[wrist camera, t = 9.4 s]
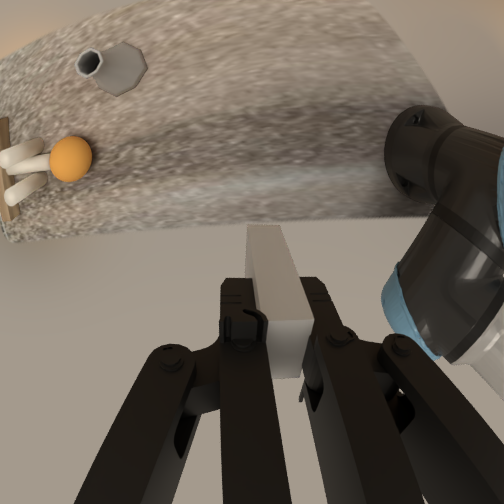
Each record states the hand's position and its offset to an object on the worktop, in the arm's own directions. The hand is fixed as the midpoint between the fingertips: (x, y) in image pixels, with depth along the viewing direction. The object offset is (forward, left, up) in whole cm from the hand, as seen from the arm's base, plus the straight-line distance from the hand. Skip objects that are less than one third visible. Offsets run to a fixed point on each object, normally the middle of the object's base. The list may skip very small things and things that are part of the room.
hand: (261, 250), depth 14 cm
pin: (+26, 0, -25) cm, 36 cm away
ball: (+22, -1, -23) cm, 32 cm away
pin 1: (+29, -3, -26) cm, 39 cm away
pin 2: (+29, +2, -26) cm, 39 cm away
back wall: (+36, 0, -26) cm, 45 cm away
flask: (+16, -12, -26) cm, 33 cm away
